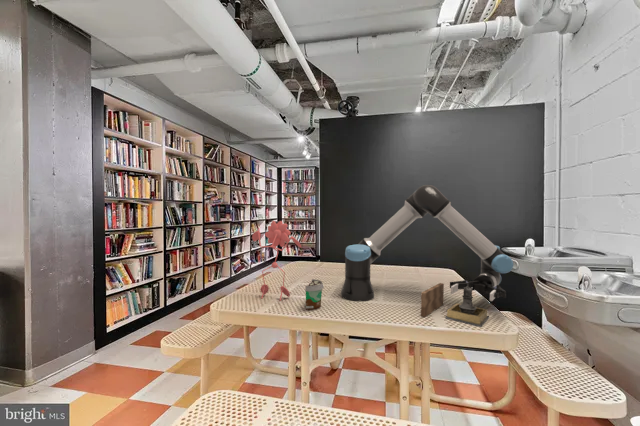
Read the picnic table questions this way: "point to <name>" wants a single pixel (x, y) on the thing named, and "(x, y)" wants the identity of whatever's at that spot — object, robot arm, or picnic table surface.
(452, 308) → the yellow square tray
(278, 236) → the pink tall figurine
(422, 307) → the board
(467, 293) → the salt shaker
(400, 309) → the picnic table surface
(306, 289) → the food container
